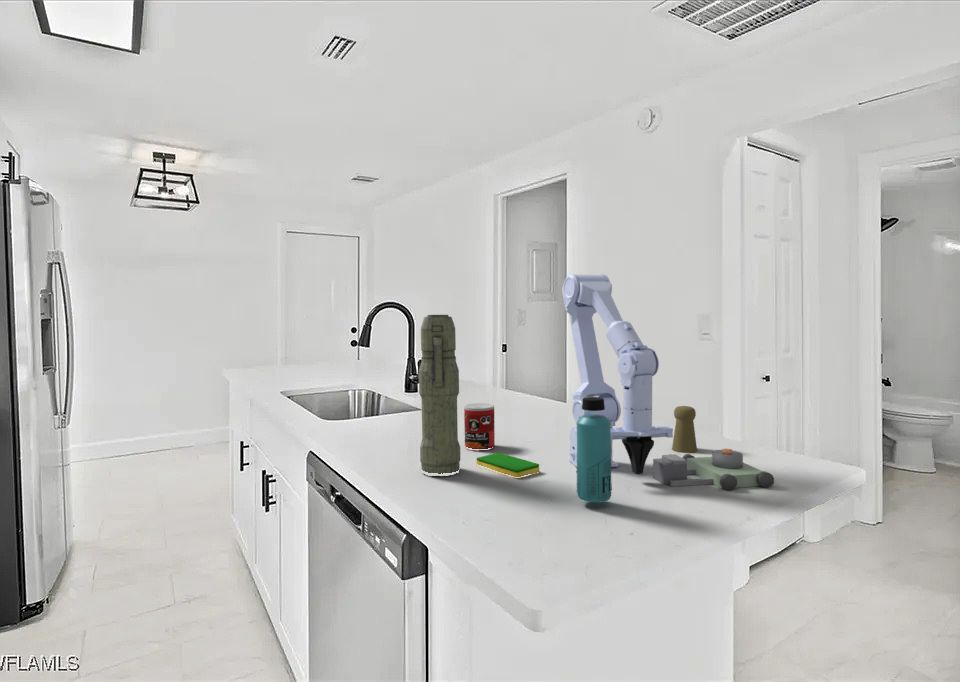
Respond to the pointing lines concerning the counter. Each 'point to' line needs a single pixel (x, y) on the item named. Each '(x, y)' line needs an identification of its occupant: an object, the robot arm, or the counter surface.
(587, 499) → the beverage bottle
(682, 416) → the olive brown tapered figure
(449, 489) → the counter surface
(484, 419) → the canned food
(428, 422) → the olive green flashlight
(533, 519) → the counter surface
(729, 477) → the mower deck
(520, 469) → the dish sponge
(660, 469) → the grey block on ledge
